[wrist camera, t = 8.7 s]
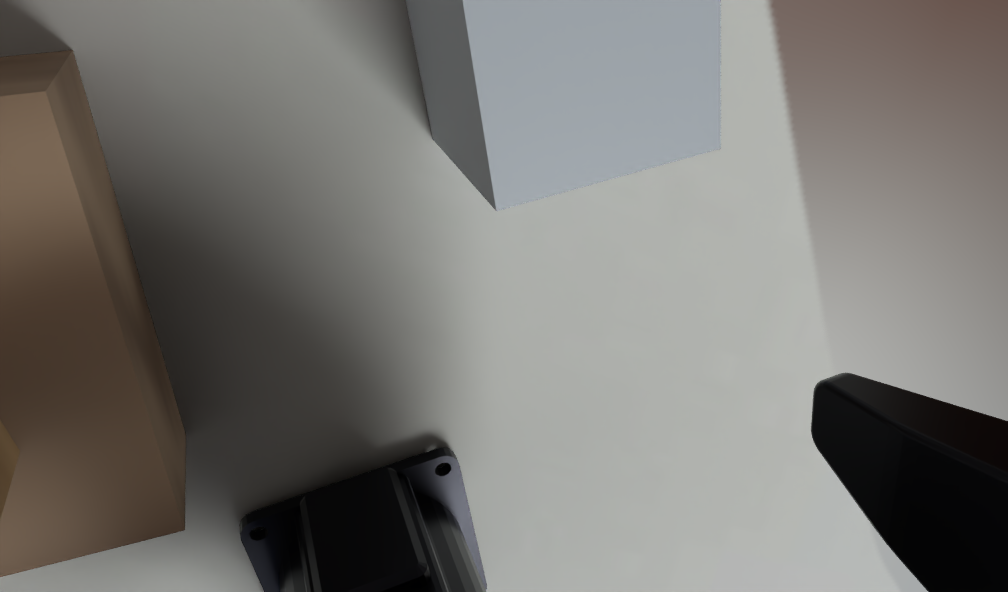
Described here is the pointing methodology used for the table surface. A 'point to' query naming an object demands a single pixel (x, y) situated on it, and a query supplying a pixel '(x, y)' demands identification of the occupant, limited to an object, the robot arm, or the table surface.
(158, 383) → the walnut block
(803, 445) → the table surface
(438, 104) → the grey cube
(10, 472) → the oak cube
